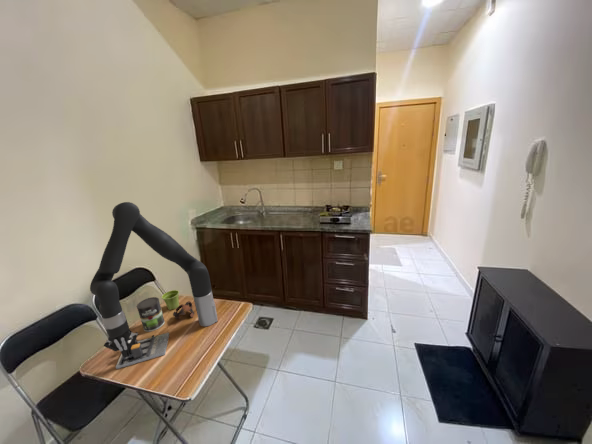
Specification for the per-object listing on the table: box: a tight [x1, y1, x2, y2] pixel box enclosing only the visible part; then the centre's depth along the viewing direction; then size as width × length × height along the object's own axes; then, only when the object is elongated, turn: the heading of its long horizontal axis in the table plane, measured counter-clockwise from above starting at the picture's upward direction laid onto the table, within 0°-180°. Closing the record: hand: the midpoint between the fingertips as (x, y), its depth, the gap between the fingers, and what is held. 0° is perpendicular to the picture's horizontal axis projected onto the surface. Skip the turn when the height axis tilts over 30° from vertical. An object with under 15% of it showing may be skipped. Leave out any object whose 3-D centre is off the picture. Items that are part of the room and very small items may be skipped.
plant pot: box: [161, 289, 180, 311], centre depth 147 cm, size 9×9×9 cm
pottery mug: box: [172, 301, 195, 320], centre depth 138 cm, size 12×10×8 cm
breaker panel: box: [115, 332, 170, 370], centre depth 115 cm, size 19×14×2 cm
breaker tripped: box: [131, 343, 143, 359], centre depth 109 cm, size 3×2×5 cm
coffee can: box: [136, 296, 166, 333], centre depth 131 cm, size 10×10×14 cm
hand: (127, 355), depth 109 cm, fingers closed
